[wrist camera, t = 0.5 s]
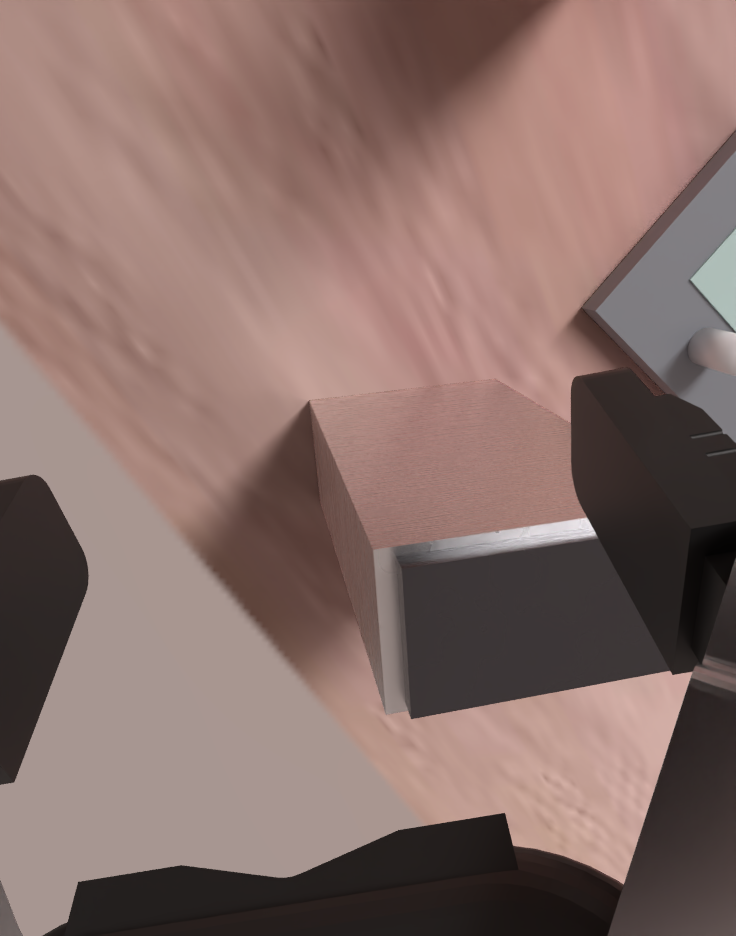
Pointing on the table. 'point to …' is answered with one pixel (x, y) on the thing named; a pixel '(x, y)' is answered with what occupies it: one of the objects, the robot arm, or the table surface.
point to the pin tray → (683, 295)
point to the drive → (470, 549)
